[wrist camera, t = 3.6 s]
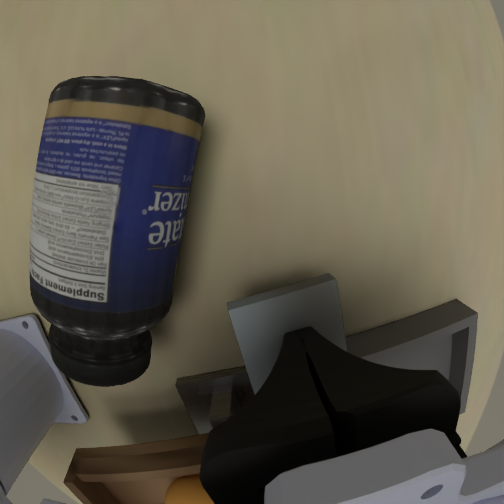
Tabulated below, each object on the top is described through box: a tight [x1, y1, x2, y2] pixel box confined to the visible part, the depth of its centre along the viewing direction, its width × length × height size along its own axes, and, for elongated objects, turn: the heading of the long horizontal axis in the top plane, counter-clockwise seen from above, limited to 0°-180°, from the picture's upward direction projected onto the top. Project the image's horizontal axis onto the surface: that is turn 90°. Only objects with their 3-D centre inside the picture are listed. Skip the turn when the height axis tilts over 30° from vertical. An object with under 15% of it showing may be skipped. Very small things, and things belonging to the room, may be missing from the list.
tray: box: [345, 299, 478, 415], centre depth 16 cm, size 8×8×2 cm
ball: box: [165, 474, 214, 504], centre depth 11 cm, size 3×3×3 cm
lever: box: [63, 273, 347, 504], centre depth 11 cm, size 14×11×3 cm
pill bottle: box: [30, 76, 205, 387], centre depth 11 cm, size 6×6×11 cm
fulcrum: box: [175, 366, 255, 434], centre depth 15 cm, size 5×7×3 cm
